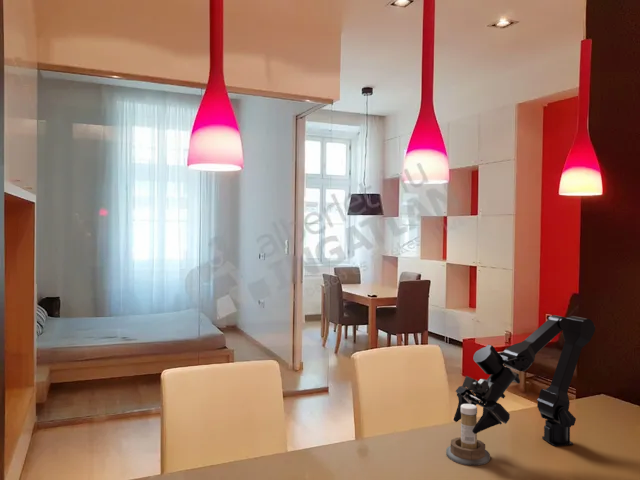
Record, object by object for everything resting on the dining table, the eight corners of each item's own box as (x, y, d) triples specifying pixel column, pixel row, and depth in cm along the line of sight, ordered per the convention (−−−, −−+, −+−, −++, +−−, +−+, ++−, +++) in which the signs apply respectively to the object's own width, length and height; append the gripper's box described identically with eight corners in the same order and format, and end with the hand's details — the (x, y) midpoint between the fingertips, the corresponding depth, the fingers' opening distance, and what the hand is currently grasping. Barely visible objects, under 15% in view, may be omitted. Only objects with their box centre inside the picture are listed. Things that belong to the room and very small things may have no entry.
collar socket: (477, 445, 153) (477, 434, 153) (498, 463, 141) (498, 450, 141) (439, 448, 151) (439, 437, 151) (457, 467, 139) (457, 454, 139)
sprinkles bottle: (478, 451, 147) (478, 404, 147) (474, 457, 143) (475, 409, 143) (462, 448, 149) (462, 402, 149) (458, 453, 145) (458, 406, 145)
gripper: (461, 359, 156) (429, 398, 152) (501, 375, 138) (465, 420, 135) (482, 382, 158) (452, 422, 155) (524, 401, 141) (490, 446, 137)
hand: (463, 426), depth 145 cm, fingers open, 9 cm apart
